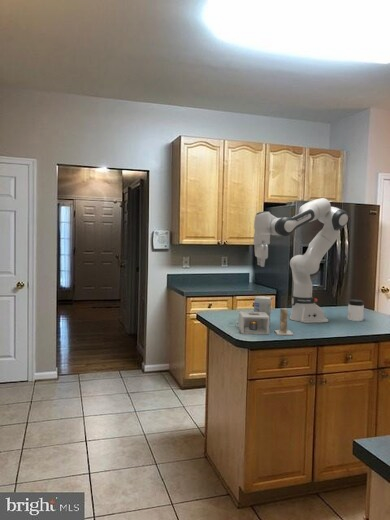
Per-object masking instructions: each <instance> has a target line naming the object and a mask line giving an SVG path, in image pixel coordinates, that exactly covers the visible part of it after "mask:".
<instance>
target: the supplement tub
mask: <svg viewBox="0 0 390 520" xmlns="http://www.w3.org/2000/svg"><path fill="white" fill-rule="evenodd" d="M271 310H272V297H269V296H264V295H263V296H261V295H259V296H255V297H254V304H253V312H265V313H266V314H267V315H268V316H269V317H270V318H271V313H272V312H271ZM269 324H271V319H270V320H269Z"/></svg>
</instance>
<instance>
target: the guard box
mask: <svg viewBox="0 0 390 520" xmlns="http://www.w3.org/2000/svg"><path fill="white" fill-rule="evenodd" d="M269 320H270V321H271V316H270V317H269V316H268V315H267V314H266V313H265V312H254V311H249V310H246V311H243V310H241V311H239V312H238V328H239V331H240V332H241V334H248V335H249V334H250V335H251V334H252V335H253V334H254V335H269V334H270V323H269ZM250 321H257V330H250Z"/></svg>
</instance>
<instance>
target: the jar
mask: <svg viewBox="0 0 390 520" xmlns="http://www.w3.org/2000/svg"><path fill="white" fill-rule="evenodd" d="M347 306H348V307H347V320H350V321H351V322H352V321H353V322H363V321H364V311H365V305H364V301H363V300H362V299H349V301H348V305H347Z"/></svg>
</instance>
